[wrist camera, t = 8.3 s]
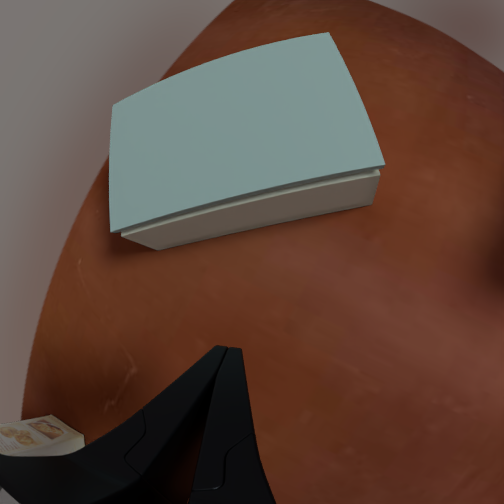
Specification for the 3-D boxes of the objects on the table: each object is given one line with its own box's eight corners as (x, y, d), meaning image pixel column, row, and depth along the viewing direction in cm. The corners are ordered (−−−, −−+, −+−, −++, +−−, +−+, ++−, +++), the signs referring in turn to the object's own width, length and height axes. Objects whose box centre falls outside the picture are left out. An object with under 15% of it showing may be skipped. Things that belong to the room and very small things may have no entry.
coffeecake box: (50, 413, 25) (-77, 426, 7) (85, 434, 23) (-60, 465, 5) (68, 496, 22) (-30, 528, 4) (103, 519, 20) (0, 567, 2)
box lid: (383, 168, 15) (385, 164, 15) (115, 233, 20) (110, 232, 19) (329, 37, 17) (328, 32, 16) (116, 108, 21) (112, 105, 20)
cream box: (371, 204, 20) (380, 174, 16) (157, 250, 24) (121, 236, 20) (334, 97, 23) (330, 58, 18) (157, 147, 27) (129, 121, 22)
